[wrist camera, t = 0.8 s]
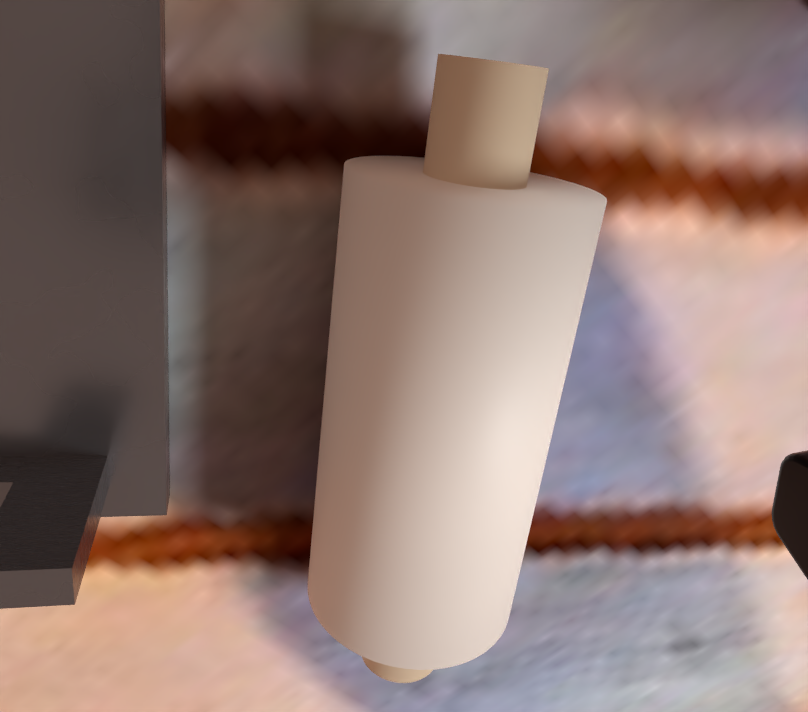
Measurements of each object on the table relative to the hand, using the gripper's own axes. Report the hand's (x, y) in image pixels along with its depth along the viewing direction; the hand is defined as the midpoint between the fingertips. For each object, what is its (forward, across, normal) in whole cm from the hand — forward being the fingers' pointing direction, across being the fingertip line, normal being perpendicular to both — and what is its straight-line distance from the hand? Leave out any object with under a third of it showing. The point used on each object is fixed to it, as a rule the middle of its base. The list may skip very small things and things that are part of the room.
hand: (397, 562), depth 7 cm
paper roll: (+13, -3, +4) cm, 14 cm away
